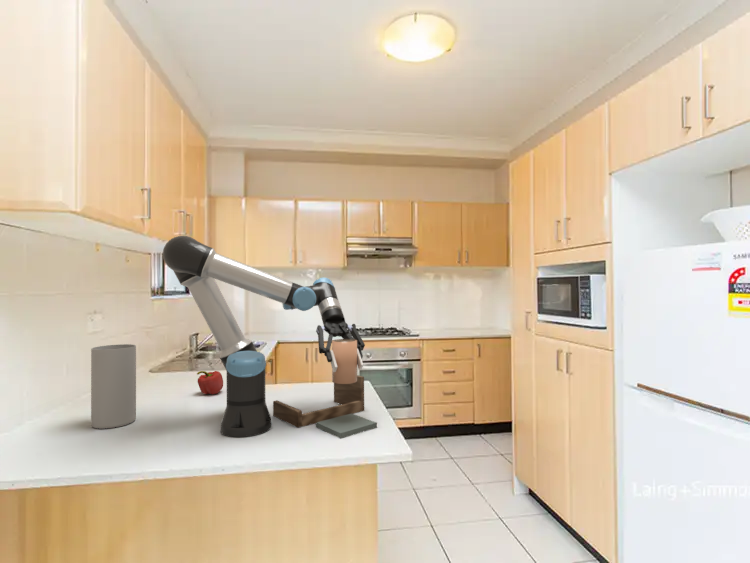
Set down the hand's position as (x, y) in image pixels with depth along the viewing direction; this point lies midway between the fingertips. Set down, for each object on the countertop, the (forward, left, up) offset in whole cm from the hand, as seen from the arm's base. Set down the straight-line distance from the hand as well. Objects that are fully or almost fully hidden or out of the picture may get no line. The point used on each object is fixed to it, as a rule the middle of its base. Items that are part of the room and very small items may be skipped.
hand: (348, 368), depth 131 cm
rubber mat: (0, +1, -19) cm, 18 cm away
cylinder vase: (-54, +56, -19) cm, 80 cm away
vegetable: (-17, +73, -19) cm, 77 cm away
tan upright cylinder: (+1, +3, -5) cm, 6 cm away
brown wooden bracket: (+2, +20, -19) cm, 27 cm away
